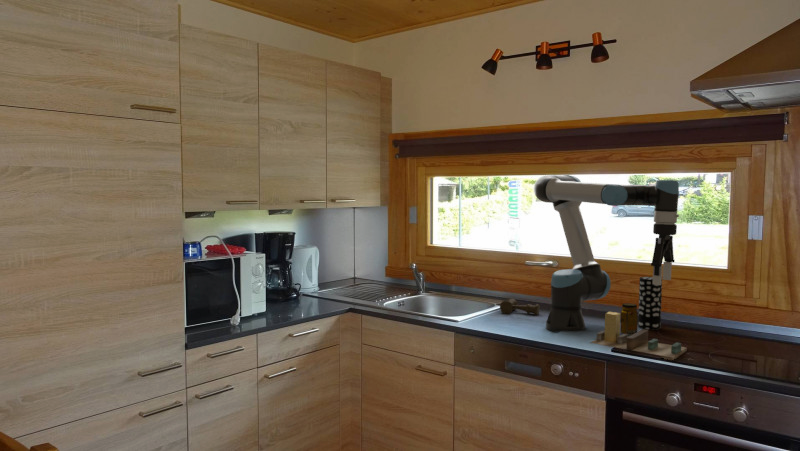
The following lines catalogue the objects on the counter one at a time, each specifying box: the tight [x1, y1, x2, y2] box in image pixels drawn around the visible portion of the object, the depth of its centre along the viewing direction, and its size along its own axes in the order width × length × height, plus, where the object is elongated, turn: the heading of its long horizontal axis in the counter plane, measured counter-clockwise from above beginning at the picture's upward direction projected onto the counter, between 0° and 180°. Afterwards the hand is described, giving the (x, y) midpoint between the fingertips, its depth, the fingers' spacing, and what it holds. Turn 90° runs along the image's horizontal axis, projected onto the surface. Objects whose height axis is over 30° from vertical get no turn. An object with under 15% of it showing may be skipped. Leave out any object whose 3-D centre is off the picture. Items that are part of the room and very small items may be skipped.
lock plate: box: [589, 328, 688, 361], centre depth 204 cm, size 28×16×5 cm, turn 49°
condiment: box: [620, 302, 639, 335], centre depth 221 cm, size 7×8×12 cm
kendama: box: [495, 298, 541, 316], centre depth 262 cm, size 6×10×20 cm
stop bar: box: [604, 311, 621, 343], centre depth 209 cm, size 4×4×10 cm
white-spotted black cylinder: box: [637, 276, 663, 331], centre depth 234 cm, size 8×8×20 cm
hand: (661, 282), depth 208 cm, fingers open, 13 cm apart
